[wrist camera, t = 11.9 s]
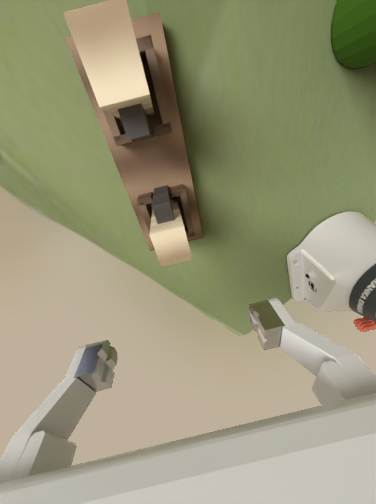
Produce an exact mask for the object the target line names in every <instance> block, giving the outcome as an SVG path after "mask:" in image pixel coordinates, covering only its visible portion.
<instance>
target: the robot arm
mask: <svg viewBox="0 0 376 504" xmlns="http://www.w3.org/2000/svg"><path fill="white" fill-rule="evenodd" d="M287 264H288V272H289V279H290V287H291V295H292V299H294V300H295V301H297V302H311V303H312V304H313V305H314V306H315V307H316V308H318V309H320V310H323V311H354V312H356V313H358V314H360V315H362V316H364V318H362V319H356V320H354V324H355V326H356V327H357V329H358V330H359V329H360V331H362V332H367V331H369V330H374V329H376V224H375V223H373V222H372V221H371V220H369V219H368V218H367V217H366V216H365V215H363V214H362V213H359V212H353V211H350V212H343V213H340V214H337V215H334V216H332V217H330V218H328V219H326V220H325V221H323V222H322V223H320V224H319V225H318V226H316V227H315V228H314V229H313V230H312V231H311V232H310V233H309V234H308V235H307V237H306V238H305V239H304V240H303V242H302V243H301V244H300V245H299V246H297V247H296V248H295V249H293V250H292V251H291V252H290V253H289V254H288V255H287ZM249 310H250V313H249V318H250V322H251V324H252V327H253V329H254V331H256V332H257V333H258V339H259V341H260V343H261V345H262V347H263V349H264V350H267V349H271V348H276V347H280V348H281V349H282V350H284V351H285V352H286V353H288V354H289V355H290V356H291V357H293V358H294V359H295V360H296V361H297V362H299V363H300V364H301V365H302V366H304V367H305V368H306V369H308V370H309V371H310V372H311V373H313V374H314V375H315V376H316V379H315V382H314V384H313V387H312V390H313V392H314V393H315V395H316V397H317V398H318V400H319V402H320V403H321V405H322V406H318V407H313V408H309V409H305V410H301V411H297V412H293V413H289V414H284V415H280V416H276V417H272V418H268V419H264V420H260V421H255V422H251V423H248V424H243V425H239V426H235V427H230V428H226V429H223V430H218V431H214V432H210V433H206V434H202V435H197V436H193V437H189V438H185V439H181V440H176V441H172V442H169V443H164V444H160V445H156V446H152V447H148V448H143V449H139V450H135V451H131V452H127V453H123V454H118V455H115V456H110V457H106V458H102V459H98V460H93V461H89V462H85V463H81V464H77V465H73V466H71V465H72V461H73V457H74V454H75V450H76V444H75V443H73V442H71V441H68V438H69V437H70V435H71V433H72V432H73V430H74V429H75V427H76V425H77V424H78V422H79V420H80V419H81V417H82V415H83V414H84V412H85V411H86V409H87V407H88V406H89V404H90V402H91V401H92V399H93V397H94V396H95V394H96V392H97V391H101V390H104V389H108V388H112V383H113V378H114V372H113V368H114V367H115V366H116V364H117V352H116V349H115V348H114V347H111V346H110V342H109V341H108V340H105V341H101V342H97V343H92V344H88V345H84V346H80V347H79V348H78V349H77V350H76V353H75V355H74V357H73V360H72V362H71V365H70V367H69V369H68V372H67V374H66V376H65V379H64V381H61V382H60V383H59V384H58V385H57V386H56V388H55V389H54V390H53V391H52V392H51V393H50V394H49V396H48V397H47V398H46V399H45V400H44V401H43V402H42V404H41V405H40V406H39V407H38V408H37V409H36V410H35V412H34V413H33V414H32V415H31V416H30V417H29V418H28V419H27V421H26V422H25V423H24V424H23V425H22V426H21V427H20V428H19V430H18V431H17V432H16V433H15V434H14V436H12V438H11V440H10V442H9V444H8V446H7V448H6V450H5V452H4V454H3V456H2V457H1V459H0V504H376V375H375V374H374V373H373V372H372V371H371V370H370V368H369V367H368V366H367V365H366V364H365V363H364V362H363V361H362V360H361V359H360V358H359V356H358V355H357V354H355V353H354V352H352V351H350V350H348V349H346V348H345V347H343V346H341V345H339V344H337V343H335V342H334V341H332V340H330V339H328V338H326V337H325V336H323V335H321V334H319V333H317V332H315V331H313V330H312V329H310V328H308V327H306V326H305V325H303V324H301V323H296V322H295V321H294V320H293V318H292V317H291V315H290V314H289V313H288V312H287V310H286V309H285V308H284V306H283V305H282V303H281V302H280V301H279V299H277V298H273V299H269V300H264V301H260V302H256V303H253V304H249Z"/></svg>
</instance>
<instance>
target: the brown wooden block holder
mask: <svg viewBox="0 0 376 504" xmlns="http://www.w3.org/2000/svg"><path fill="white" fill-rule="evenodd" d="M63 14H64V16H65V19H66V21H67V24H68V27H69V29H70V32H71V34H72V36H69V37H65V38H66V41H67V43H68V46H69V48H70V51H71V53H72V56H73V58H74V61H75V63H76V66H77V68H78V71H79V73H80V76H81V78H82V81H83V83H84V86H85V88H86V91H87V93H88V96H89V98H90V101H91V103H92V106H93V108H94V111H95V113H96V116H97V118H98V121H99V123H100V126H101V128H102V131H103V133H104V136H105V138H106V141H107V143H108V146H109V148H110V151H111V153H112V156H113V158H114V161H115V163H116V166H117V168H118V171H119V173H120V176H121V178H122V181H123V183H124V186H125V188H126V191H127V193H128V196H129V199H130V201H131V204H132V206H133V209H134V211H135V214H136V216H137V219H138V221H139V224H140V226H141V229H142V231H143V234H144V236H145V239H146V241H147V244H148V246H149V249H150V251H152V250H155V248H154V246H153V243H152V241H151V238H150V235H149V233H150V225H151V217H152V200H153V193H154V188H157V187H161V186H165V185H167V187H168V191H169V195H170V198H171V199H174V198H176V199H177V203H178V206H179V210H180V214H181V217H182V221H183V224H184V228H185V232H186V236H187V240H188V241H191V240H195V239H199V238H203V234H202V229H201V224H200V219H199V214H198V208H197V203H196V198H195V193H194V187H193V182H192V177H191V172H190V167H189V161H188V156H187V151H186V146H185V141H184V135H183V130H182V125H181V120H180V114H179V109H178V104H177V99H176V94H175V88H174V83H173V78H172V73H171V68H170V62H169V57H168V52H167V47H166V41H165V36H164V31H163V26H162V21H161V15H160V13H156V14H152V15H149V16H145V17H141V18H137V19H133V20H131V18H130V14H129V10H128V6H127V2H126V0H109V1H105V2H101V3H97V4H93V5H90V6H86V7H82V8H78V9H74V10H71V11H67V12H63Z"/></svg>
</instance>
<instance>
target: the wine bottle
mask: <svg viewBox="0 0 376 504" xmlns="http://www.w3.org/2000/svg"><path fill="white" fill-rule="evenodd" d="M331 43H332V49H333V52H334V55H335V57H336V59H337V60H338V61H339V62H340V63H341V64H342V65H343V66H347V67H351V68H358V67H364V66H367V65H369V64H372V63H375V62H376V0H337V3H336V6H335V9H334V14H333V19H332V24H331Z"/></svg>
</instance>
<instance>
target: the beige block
mask: <svg viewBox="0 0 376 504" xmlns="http://www.w3.org/2000/svg"><path fill="white" fill-rule="evenodd" d="M149 235H150V238H151V241H152V243H153V246H154V248H155V251H156V254H157V256H158V259H159V262H160V264H161V267H164V266H168V265H172V264H176V263H180V262H183V261H187V260H191V259H192V256H191V252H190V248H189V244H188V240H187V236H186V232H185V228H184V224H183V221H182V217H181V214H180V210H179V206H178V203H177V199H176V198H174V199H171V198H170V195H169V191H168V187H167V185H165V186H161V187H157V188H154V193H153V200H152V217H151V225H150V233H149Z"/></svg>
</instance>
